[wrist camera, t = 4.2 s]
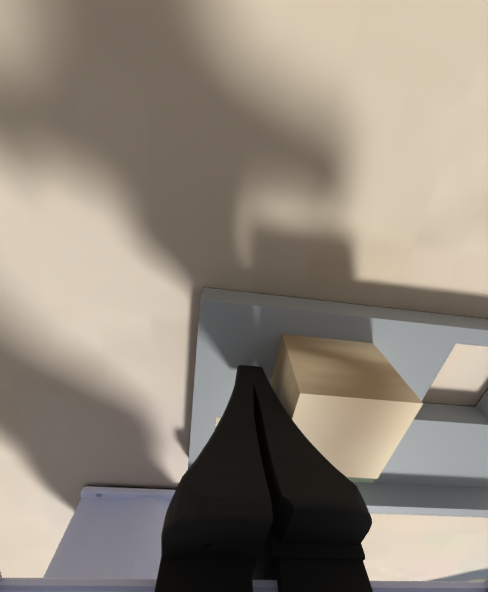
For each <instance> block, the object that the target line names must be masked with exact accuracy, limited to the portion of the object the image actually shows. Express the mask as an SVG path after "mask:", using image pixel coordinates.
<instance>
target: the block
mask: <svg viewBox="0 0 488 592" xmlns="http://www.w3.org/2000/svg"><path fill="white" fill-rule="evenodd" d="M270 385H271V386H272V388H273V390H274V392H275V394H276V395H277V397H278V399H279V400H280V402H281V404H282V405H283V407H284V408H285V410H286V411H287V413H288V414H289V416H290V417H291V419H292V420H293V421H294V423H295V424H296V425H297V427H298V428H299V429H300V430H301V432H302V433H303V434H304V435H305V436H306V438H307V439H308V440H309V441H310V442H311V443H312V444H313V446H314V447H315V448H316V449H317V450H318V451H319V452H320V453H321V454H322V455H323V456H324V457H325V458H326V459H327V460H328V461H329V462H330V463H331V464H332V465H333V466H334V467H335V468H336V469H338V470H339V471H340V472H341V473H342V474H343V475H345V476H346V477H355V478H374V479H378V477H379V475H380V474H381V472H382V470H383V469H384V467H385V465H386V464H387V462H388V461H389V459H390V457H391V456H392V454H393V452H394V451H395V449H396V447H397V446H398V444H399V443H400V441H401V439H402V438H403V436H404V434H405V433H406V431H407V429H408V428H409V426H410V425H411V423H412V421H413V420H414V418H415V416H416V415H417V413H418V411H419V410H420V408H421V407H422V405H423V403H422V401H421V400H420V399H419V398H418V397H417V395H416V394H415V393H414V392H413V390H412V389H411V388H410V387H409V386H408V384H407V383H406V382H405V381H404V380H403V378H402V377H401V376H400V375H399V374H398V372H397V371H396V370H395V369H394V368H393V366H392V365H391V364H390V363H389V362H388V360H387V359H386V358H385V357H384V355H383V354H382V353H381V352H380V351H379V349H378V348H377V347H376V346H375V345H374V343H368V342H358V341H349V340H339V339H329V338H319V337H310V336H300V335H290V334H282V337H281V341H280V346H279V350H278V354H277V358H276V362H275V366H274V370H273V374H272V378H271V383H270Z"/></svg>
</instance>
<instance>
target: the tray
mask: <svg viewBox="0 0 488 592" xmlns="http://www.w3.org/2000/svg"><path fill="white" fill-rule="evenodd" d="M282 334H290V335H300V336H310V337H319V338H329V339H339V340H349V341H358V342H368V343H374V345H375V346H376V347H377V348H378V349H379V351H380V352H381V353H382V354H383V355H384V357H385V358H386V359H387V360H388V362H389V363H390V364H391V365H392V366H393V368H394V369H395V370H396V371H397V372H398V374H399V375H400V376H401V377H402V378H403V380H404V381H405V382H406V383H407V384H408V386H409V387H410V388H411V389H412V390H413V392H414V393H415V394H416V395H417V397H418V398H419V399H420V400H421V401H422V400H423V398H424V396H425V395H426V393H427V391H428V390H429V388H430V386H431V385H432V383H433V381H434V380H435V378H436V376H437V374H438V373H439V371H440V369H441V368H442V366H443V364H444V363H445V361H446V359H447V358H448V356H449V354H450V353H451V351H452V349H453V348H454V346H455V344H456V343H457V344H466V345H476V346H486V347H488V319H483V318H474V317H465V316H456V315H447V314H438V313H429V312H420V311H412V310H403V309H394V308H385V307H376V306H367V305H358V304H349V303H340V302H331V301H322V300H313V299H304V298H295V297H286V296H277V295H268V294H259V293H251V292H242V291H233V290H224V289H215V288H206V287H203V291H202V294H201V298H200V306H199V321H198V335H197V349H196V363H195V377H194V392H193V406H192V420H191V434H190V448H189V463H188V469H189V468H190V466H191V465H192V464H193V463H194V461H195V460H196V458H197V457H198V456H199V454H200V453H201V451H202V450H203V448H204V447H205V445H206V444H207V442H208V441H209V439H210V437H211V436H212V434H213V432H214V430H215V423H216V417H220V418H221V417H222V415H223V413H224V411H225V409H226V407H227V404H228V402H229V400H230V397H231V394H232V391H233V388H234V385H235V379H236V372H237V366H239V365H246V366H258V367H262V368H263V370H264V372H265V375H266V377H267V379H268V381H269V383H271V378H272V374H273V370H274V366H275V362H276V358H277V354H278V350H279V346H280V341H281V337H282ZM347 478H348V479H349V480H350V481H352V482H353V483H354V484H355V485H356V486H357V487H358V489H359V491H360V493H361V495H362V497H363V499H364V501H365V504H366V506H367V508H368V511H369V513H372V514H401V515H429V516H457V517H486V518H488V390H487V391H486V392H485V394H484V395H483V397H482V398H481V399H480V401H479V402H478V403H477V405H476V406H475V407H471V406H458V405H445V404H432V403H423V405H422V407H421V408H420V410H419V411H418V413H417V415H416V416H415V418H414V420H413V421H412V423H411V425H410V426H409V428H408V429H407V431H406V433H405V434H404V436H403V438H402V439H401V441H400V443H399V444H398V446H397V447H396V449H395V451H394V452H393V454H392V456H391V457H390V459H389V461H388V462H387V464H386V465H385V467H384V469H383V470H382V472H381V474H380V475H379V477H378V479H374V478H355V477H347Z"/></svg>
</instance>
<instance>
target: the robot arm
mask: <svg viewBox="0 0 488 592" xmlns="http://www.w3.org/2000/svg"><path fill="white" fill-rule="evenodd" d="M80 496H81V500H80V502H79V504H78V506H77V508H76V510H75V512H74V514H73V517H72V519H71V521H70V523H69V525H68V527H67V529H66V531H65V533H64V535H63V537H62V540H61V542H60V544H59V546H58V548H57V550H56V552H55V554H54V556H53V558H52V560H51V563H50V565H49V567H48V569H47V571H46V573H45V575H44V577H43V578H2V575H1V572H0V592H488V577H487V578H486V579H485V582H440V581H439V582H438V581H436V582H435V581H369V578H368V575H367V572H366V569H365V566H364V563H363V560H364V559H365V554H364V551H363V548H362V545H361V542H362V540H363V539H364V537H365V536H366V534H367V533H368V532H369V529H370V527H371V525H372V518H371V516H370V513H369V511H368V508H367V506H366V504H365V501H364V499H363V497H362V495H361V493H360V491H359V489H358V487H357V486H356V485H355V484H354V483H353V482H352V481H350V480H349V479H348V478H347V477H346V476H345V475H343V474H342V473H341V472H340V471H339V470H338V469H336V468H335V467H334V466H333V465H332V464H331V463H330V462H329V461H328V460H327V459H326V458H325V457H324V456H323V455H322V454H321V453H320V452H319V451H318V450H317V449H316V448H315V447H314V446H313V444H312V443H311V442H310V441H309V440H308V439H307V438H306V436H305V435H304V434H303V433H302V432H301V430H300V429H299V428H298V427H297V425H296V424H295V423H294V421H293V420H292V419H291V417H290V416H289V414H288V413H287V411H286V410H285V408H284V407H283V405H282V404H281V402H280V400H279V399H278V397H277V395H276V394H275V392H274V390H273V388H272V386H271V385H270V383H269V381H268V379H267V377H266V375H265V372H264V370H263V368H262V367H258V366H246V365H239V366H237V372H236V379H235V385H234V388H233V391H232V394H231V397H230V400H229V402H228V404H227V407H226V409H225V411H224V413H223V415H222V417H221V419H220V421H219V423H218V425H217V427H216V429H215V430H214V432H213V434H212V436H211V437H210V439H209V441H208V442H207V444H206V445H205V447H204V448H203V450H202V451H201V453H200V454H199V456H198V457H197V458H196V460H195V461H194V463H193V464H192V465H191V466H190V468H189V469H188V470H187V472H186V473H185V474H184V476H183V477H182V479H181V481H180V483H179V485H178V487H177V489H176V490H165V489H141V488H117V487H92V486H86V487H84V488H82V490H81V492H80Z"/></svg>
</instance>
